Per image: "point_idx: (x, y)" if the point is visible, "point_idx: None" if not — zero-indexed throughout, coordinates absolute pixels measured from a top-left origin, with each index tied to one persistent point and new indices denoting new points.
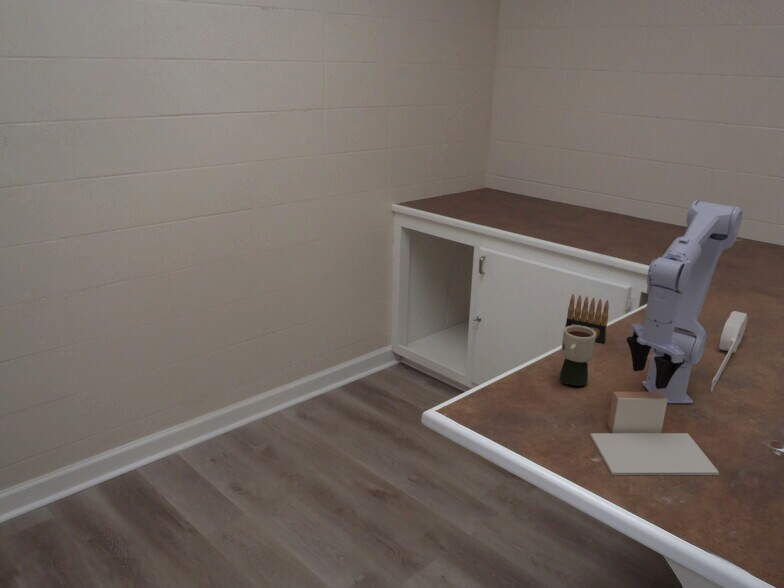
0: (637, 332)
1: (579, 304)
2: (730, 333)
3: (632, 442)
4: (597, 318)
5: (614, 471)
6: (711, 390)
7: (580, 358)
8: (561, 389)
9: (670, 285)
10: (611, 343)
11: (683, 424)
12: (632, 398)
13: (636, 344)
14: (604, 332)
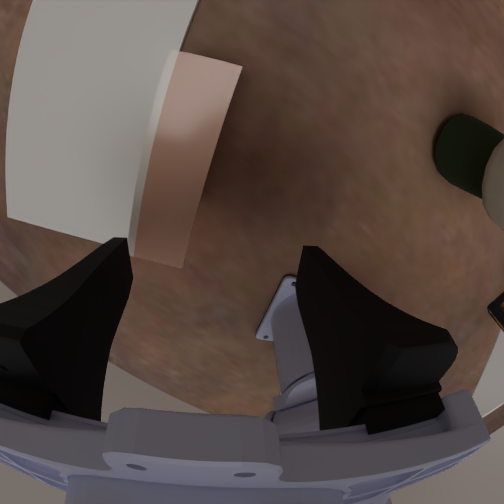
0: (401, 461)
1: None
2: None
3: (120, 81)
4: None
5: None
6: (278, 378)
7: (501, 157)
8: (446, 90)
9: None
10: (479, 318)
11: (184, 270)
12: (156, 116)
13: (364, 361)
14: (500, 321)
